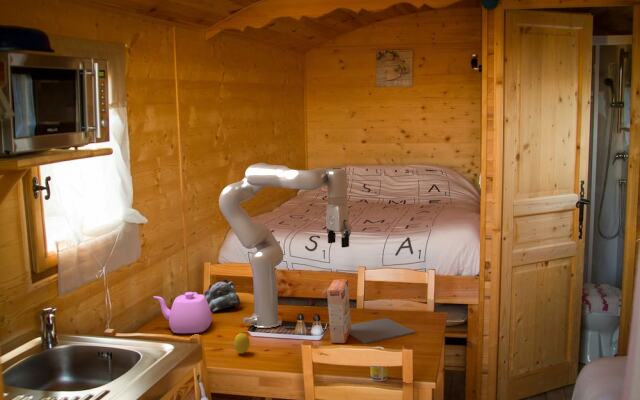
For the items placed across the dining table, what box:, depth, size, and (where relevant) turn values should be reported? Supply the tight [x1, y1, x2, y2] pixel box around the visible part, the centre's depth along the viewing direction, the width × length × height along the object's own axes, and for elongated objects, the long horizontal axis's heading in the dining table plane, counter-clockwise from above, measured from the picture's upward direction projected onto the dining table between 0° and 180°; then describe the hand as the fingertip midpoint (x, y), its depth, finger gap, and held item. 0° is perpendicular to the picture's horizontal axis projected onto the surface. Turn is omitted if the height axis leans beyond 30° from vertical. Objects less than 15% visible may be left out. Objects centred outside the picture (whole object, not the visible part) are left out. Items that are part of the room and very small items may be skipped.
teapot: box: [152, 291, 213, 334], centre depth 280 cm, size 23×21×15 cm
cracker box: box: [326, 278, 352, 344], centre depth 264 cm, size 14×6×21 cm, turn 168°
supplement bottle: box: [369, 346, 388, 382], centre depth 225 cm, size 6×6×10 cm
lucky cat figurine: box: [203, 279, 241, 314], centre depth 305 cm, size 15×12×14 cm
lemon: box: [233, 332, 250, 355], centre depth 250 cm, size 6×6×8 cm
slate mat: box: [348, 317, 416, 344], centre depth 272 cm, size 23×20×1 cm
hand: (338, 244), depth 269 cm, fingers open, 9 cm apart
